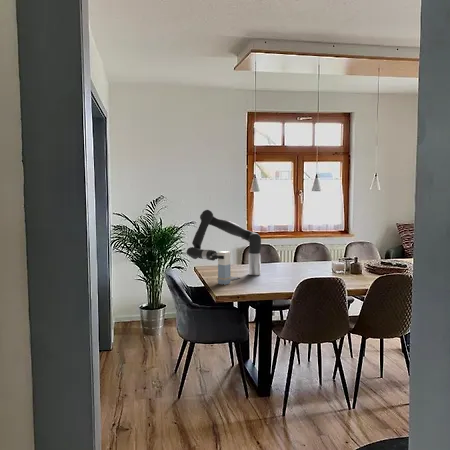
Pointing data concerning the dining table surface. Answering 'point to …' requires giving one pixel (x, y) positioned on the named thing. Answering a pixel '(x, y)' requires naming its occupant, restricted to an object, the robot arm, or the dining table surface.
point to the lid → (226, 258)
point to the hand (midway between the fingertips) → (226, 257)
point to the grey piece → (224, 274)
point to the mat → (234, 278)
